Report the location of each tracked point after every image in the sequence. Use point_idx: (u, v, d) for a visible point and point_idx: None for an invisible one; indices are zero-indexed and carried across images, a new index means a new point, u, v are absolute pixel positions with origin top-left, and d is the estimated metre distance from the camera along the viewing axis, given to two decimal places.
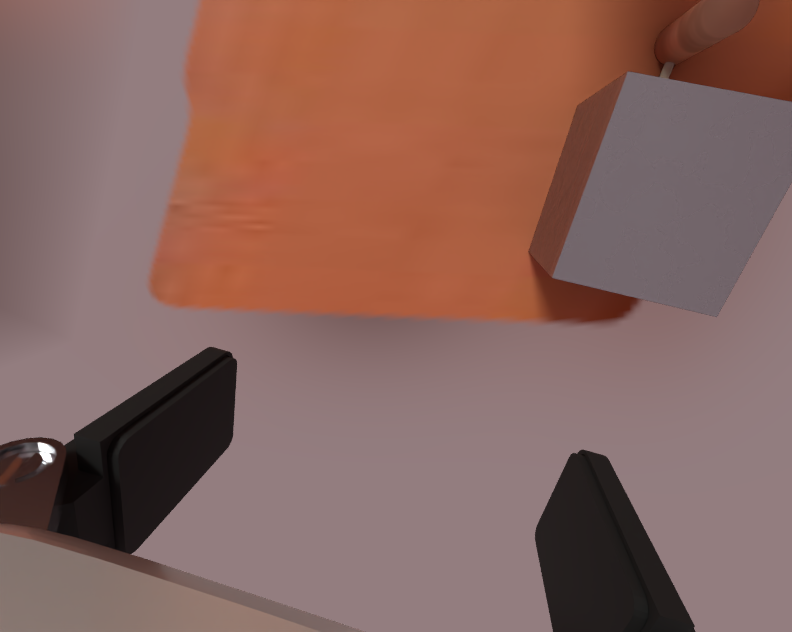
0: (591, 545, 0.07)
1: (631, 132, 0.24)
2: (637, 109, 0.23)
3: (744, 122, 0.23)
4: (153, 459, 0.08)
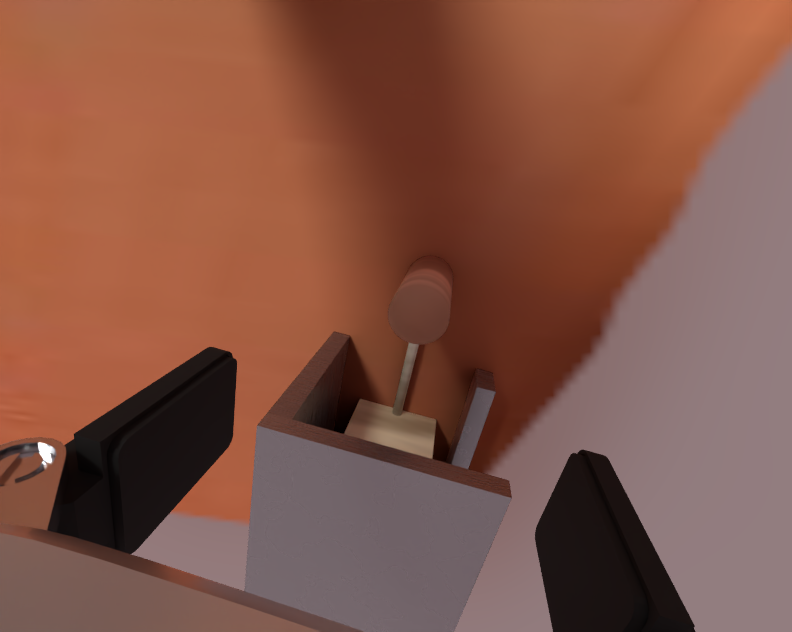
0: (591, 545, 0.07)
1: (282, 486, 0.18)
2: (281, 464, 0.18)
3: (410, 495, 0.17)
4: (153, 459, 0.08)
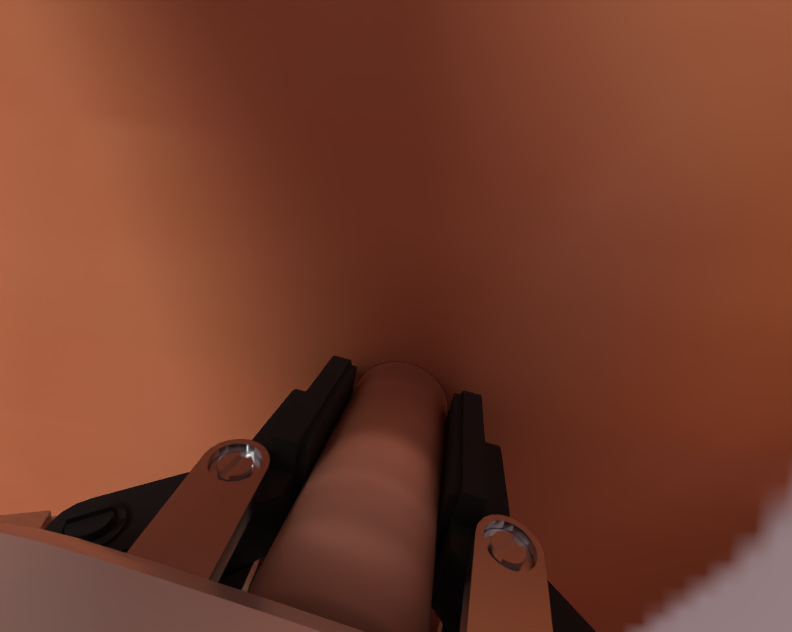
0: (446, 458, 0.09)
1: None
2: None
3: None
4: (316, 458, 0.09)
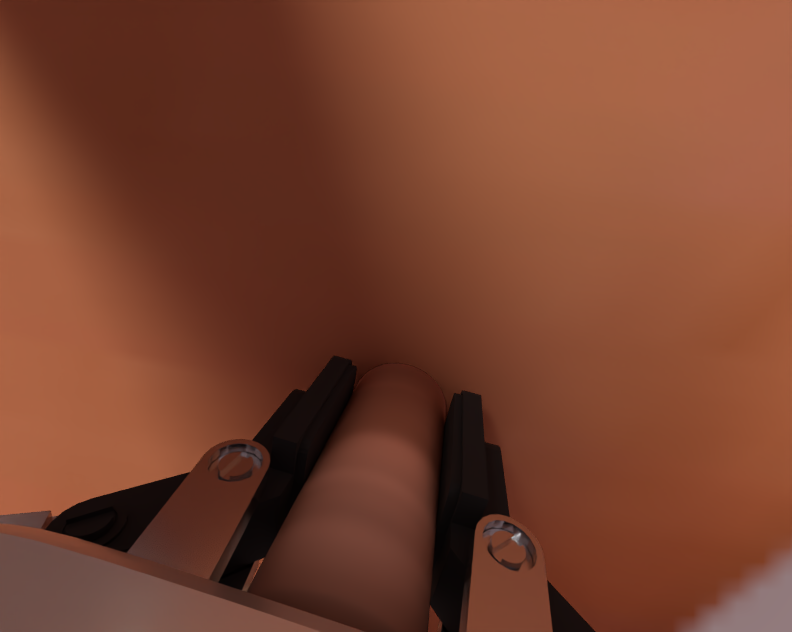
0: (445, 458, 0.09)
1: None
2: None
3: None
4: (316, 458, 0.09)
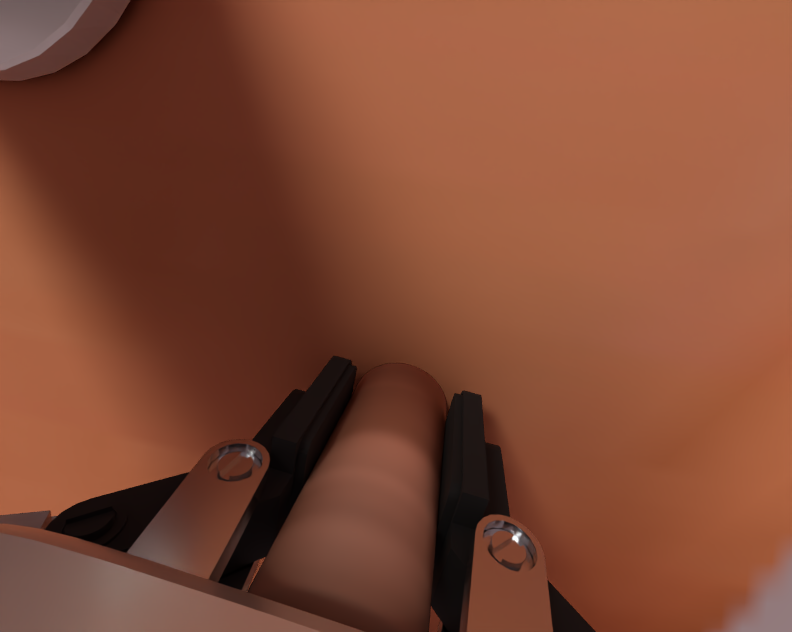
0: (446, 458, 0.09)
1: None
2: None
3: None
4: (316, 458, 0.09)
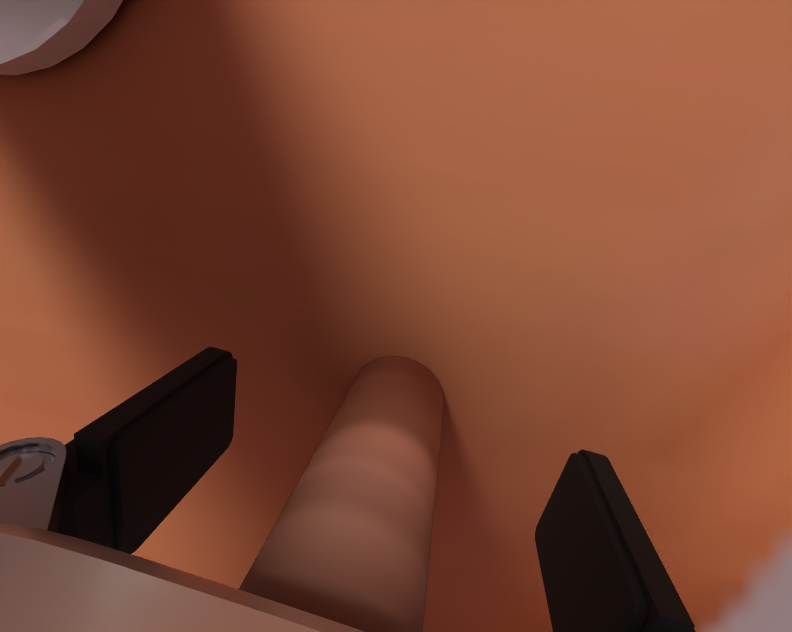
0: (591, 545, 0.07)
1: None
2: None
3: None
4: (153, 459, 0.08)
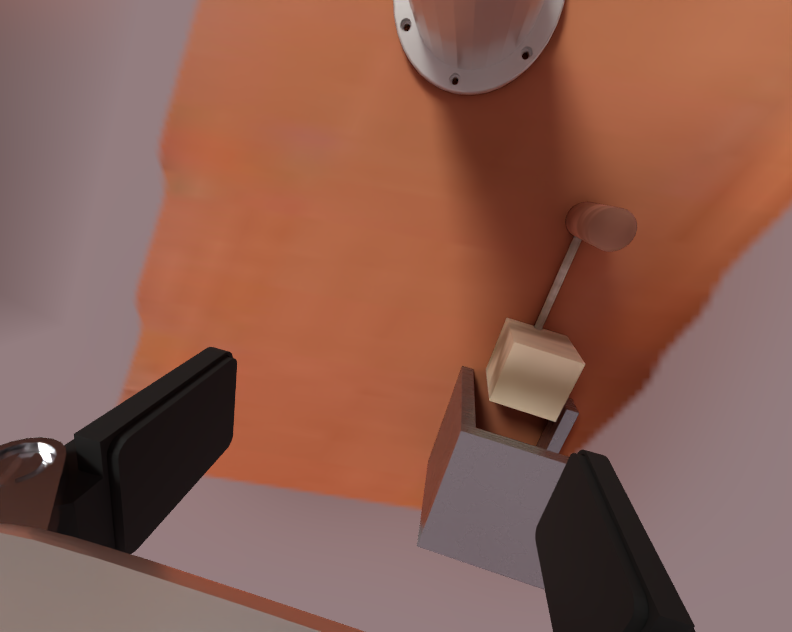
0: (591, 545, 0.07)
1: (467, 467, 0.30)
2: (470, 454, 0.30)
3: (549, 474, 0.29)
4: (153, 459, 0.08)
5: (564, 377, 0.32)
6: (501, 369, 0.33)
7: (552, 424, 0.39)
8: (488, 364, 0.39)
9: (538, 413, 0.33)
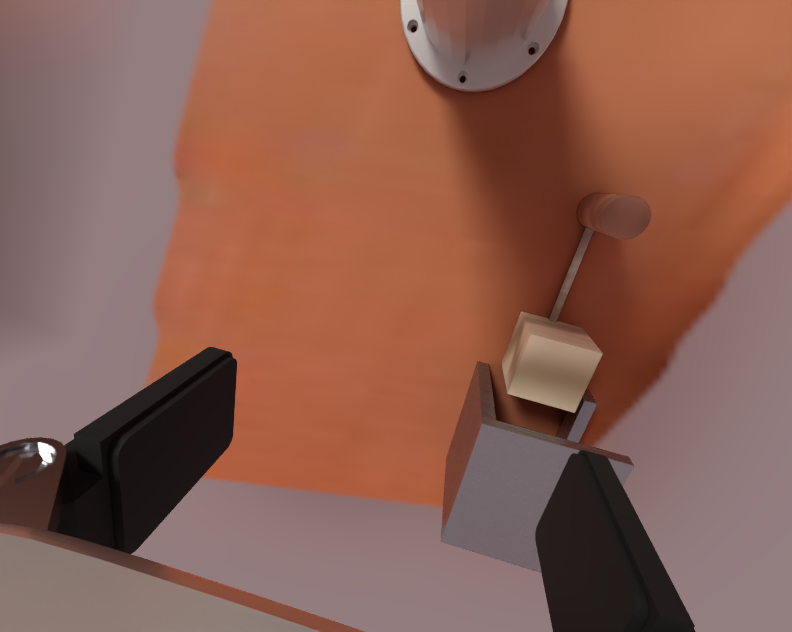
0: (591, 545, 0.07)
1: (489, 460, 0.30)
2: (492, 447, 0.30)
3: None
4: (153, 459, 0.08)
5: (582, 367, 0.32)
6: (518, 362, 0.33)
7: (570, 416, 0.39)
8: (504, 358, 0.39)
9: (557, 404, 0.33)
